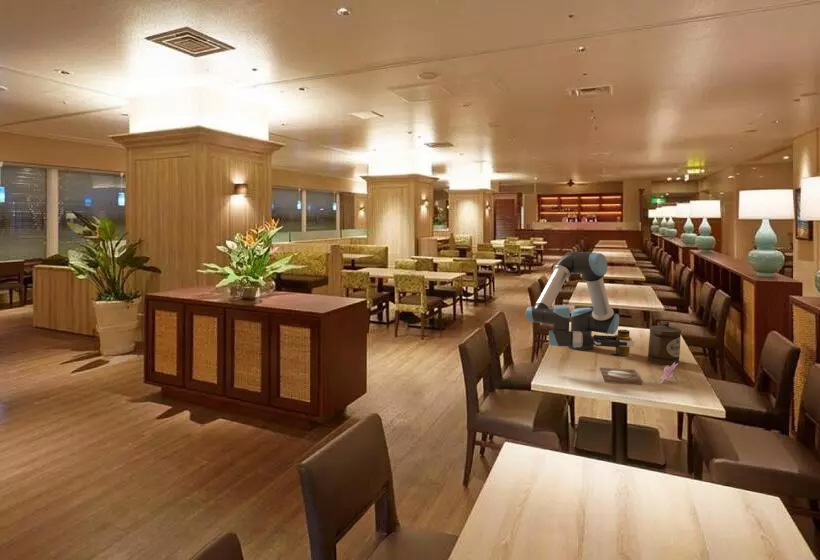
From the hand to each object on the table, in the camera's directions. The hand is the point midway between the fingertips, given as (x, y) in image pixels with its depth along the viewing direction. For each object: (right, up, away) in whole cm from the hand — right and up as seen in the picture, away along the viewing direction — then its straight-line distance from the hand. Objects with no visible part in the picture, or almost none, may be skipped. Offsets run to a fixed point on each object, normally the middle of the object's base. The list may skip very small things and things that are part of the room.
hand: (632, 342), depth 246 cm
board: (-5, -17, +3) cm, 18 cm away
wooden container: (+28, -14, +28) cm, 42 cm away
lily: (+15, -18, -4) cm, 24 cm away
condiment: (-5, -7, +2) cm, 8 cm away
